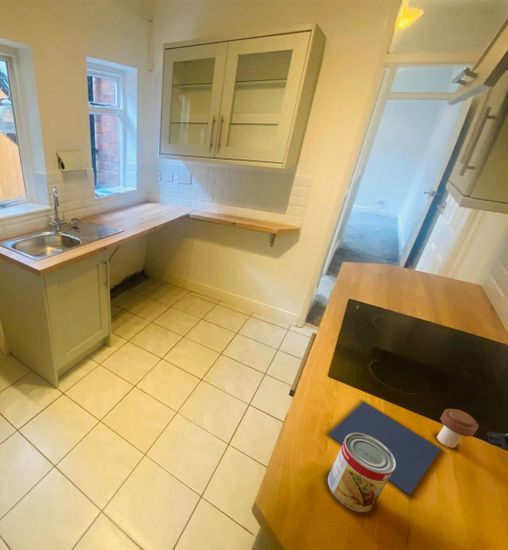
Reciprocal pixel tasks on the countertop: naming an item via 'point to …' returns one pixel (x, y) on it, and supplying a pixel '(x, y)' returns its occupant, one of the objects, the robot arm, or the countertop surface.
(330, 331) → the countertop surface
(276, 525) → the countertop surface
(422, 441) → the napkin
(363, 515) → the countertop surface
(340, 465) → the canned food
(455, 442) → the mushroom
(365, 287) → the countertop surface
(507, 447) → the robot arm
